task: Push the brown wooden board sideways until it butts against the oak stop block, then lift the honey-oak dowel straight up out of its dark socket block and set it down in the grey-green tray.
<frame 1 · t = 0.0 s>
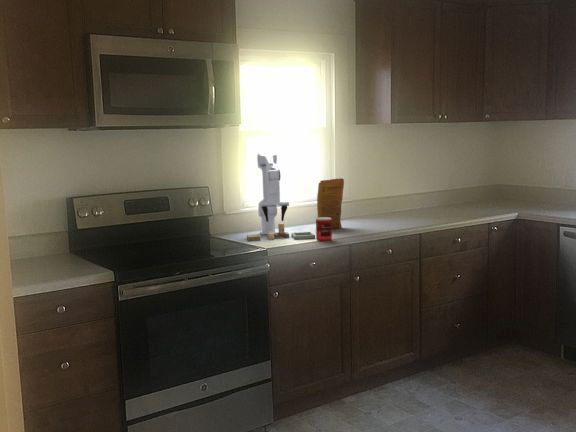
hand: (274, 221, 322), 10 cm above the worktop, tool pointing down, fingers open, 7 cm apart
canned food: (324, 240, 323), on the worktop
tray: (303, 237, 333), on the worktop
stop block: (270, 238, 333), on the worktop
dowel: (281, 230, 336), in the socket block
socket block: (281, 237, 337), on the worktop
pancake mix bag: (330, 229, 362), on the worktop
brown wooden board: (253, 240, 331), on the worktop
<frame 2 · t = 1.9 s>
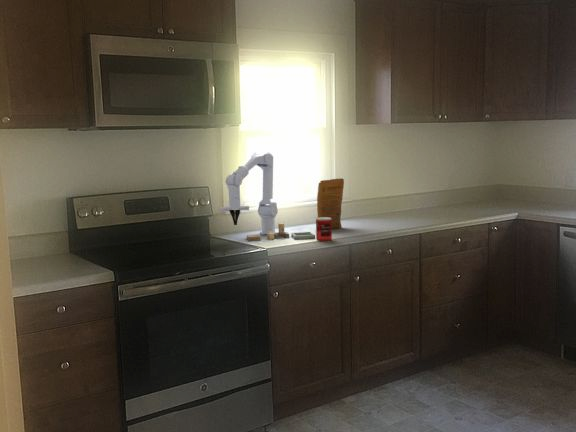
hand: (235, 224, 329), 8 cm above the worktop, tool pointing down, fingers closed
nothing on the worktop moved.
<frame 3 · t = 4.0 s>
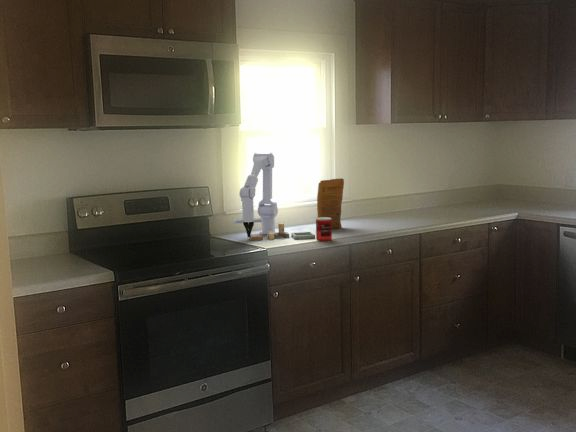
hand: (248, 236, 331), 1 cm above the worktop, tool pointing down, fingers closed
brown wooden board: (256, 240, 332), on the worktop
everything else where it was.
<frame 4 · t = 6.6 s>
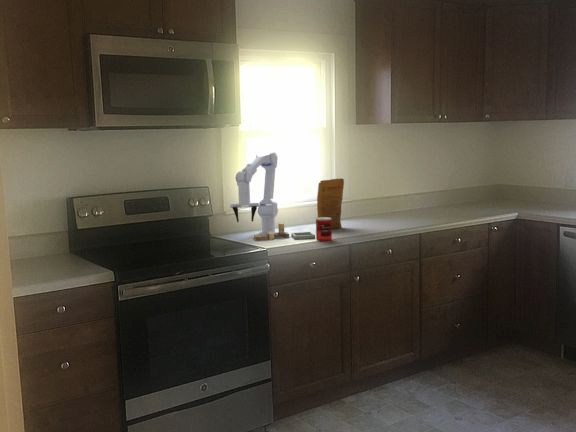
hand: (245, 221, 330), 9 cm above the worktop, tool pointing down, fingers open, 7 cm apart
brown wooden board: (260, 239, 332), on the worktop
everything else where it was.
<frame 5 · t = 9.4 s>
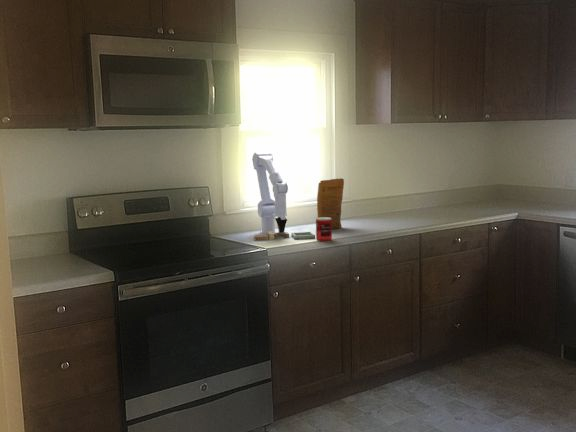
hand: (281, 231, 336), 3 cm above the worktop, tool pointing down, fingers closed on dowel, 3 cm apart
dowel: (281, 230, 336), in the socket block, touching gripper
everything else where it was.
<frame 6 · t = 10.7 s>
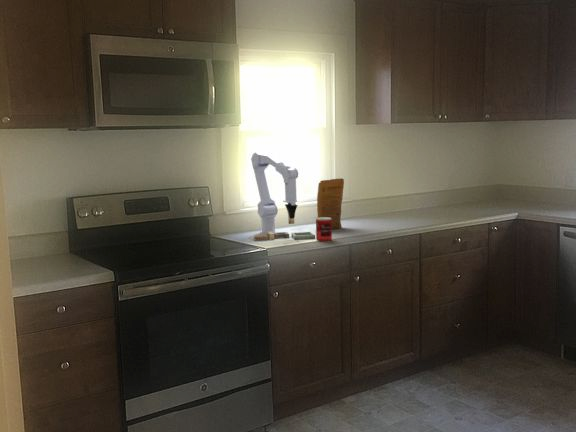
hand: (291, 218, 334), 10 cm above the worktop, tool pointing down, fingers closed on dowel, 3 cm apart
dowel: (291, 216, 334), point 11 cm above the worktop, touching gripper
everything else where it was.
when the fingers open (4 cm above the worktop, at t = 12.5 s): dowel stays where it is, resting on tray.
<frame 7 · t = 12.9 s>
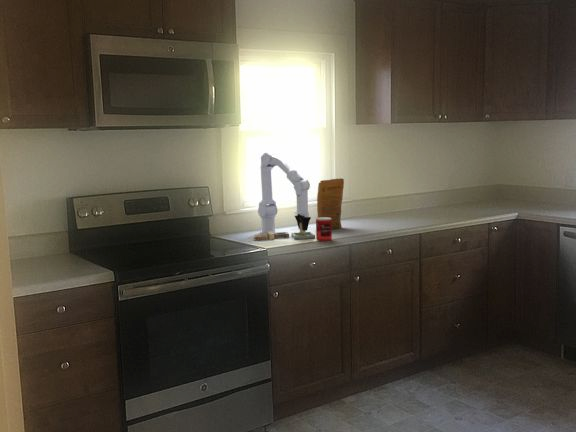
hand: (302, 229, 333), 4 cm above the worktop, tool pointing down, fingers open, 6 cm apart
dowel: (302, 229, 333), in the tray
everything else where it was.
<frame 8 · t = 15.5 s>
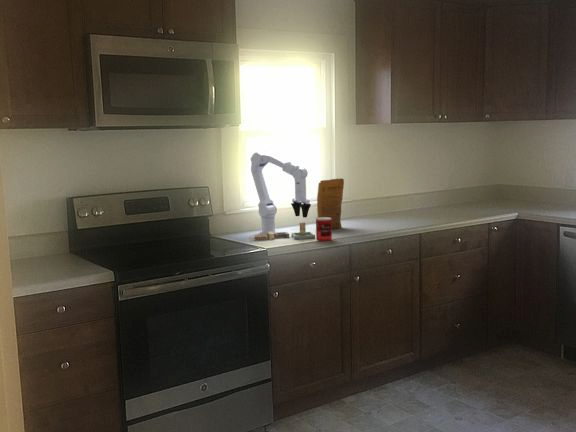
hand: (301, 216, 339), 10 cm above the worktop, tool pointing down, fingers open, 7 cm apart
nothing on the worktop moved.
at the end: brown wooden board 0.4 cm from the target spot, on the worktop; dowel inside the target area on the tray (0.2 cm from its centre), point 4.0 cm above the tray's base; the gripper is holding nothing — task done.
